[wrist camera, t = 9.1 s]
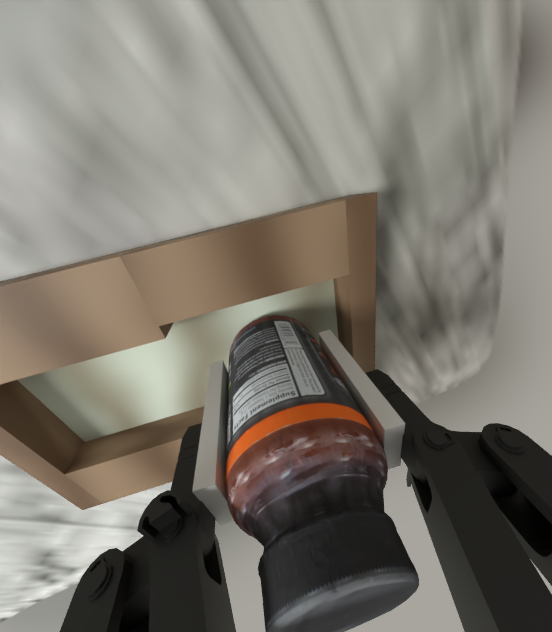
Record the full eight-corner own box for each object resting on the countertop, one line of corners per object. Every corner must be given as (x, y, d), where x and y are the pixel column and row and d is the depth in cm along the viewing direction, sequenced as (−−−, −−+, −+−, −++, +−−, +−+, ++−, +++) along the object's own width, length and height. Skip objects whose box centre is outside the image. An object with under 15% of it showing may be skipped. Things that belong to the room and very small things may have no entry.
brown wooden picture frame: (100, 473, 18) (82, 510, 16) (-96, 305, 10) (-183, 331, 8) (357, 393, 19) (374, 417, 17) (350, 194, 12) (377, 192, 10)
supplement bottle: (320, 363, 17) (451, 596, 7) (248, 392, 17) (273, 668, 7) (300, 297, 14) (476, 530, 4) (213, 331, 14) (164, 656, 4)
